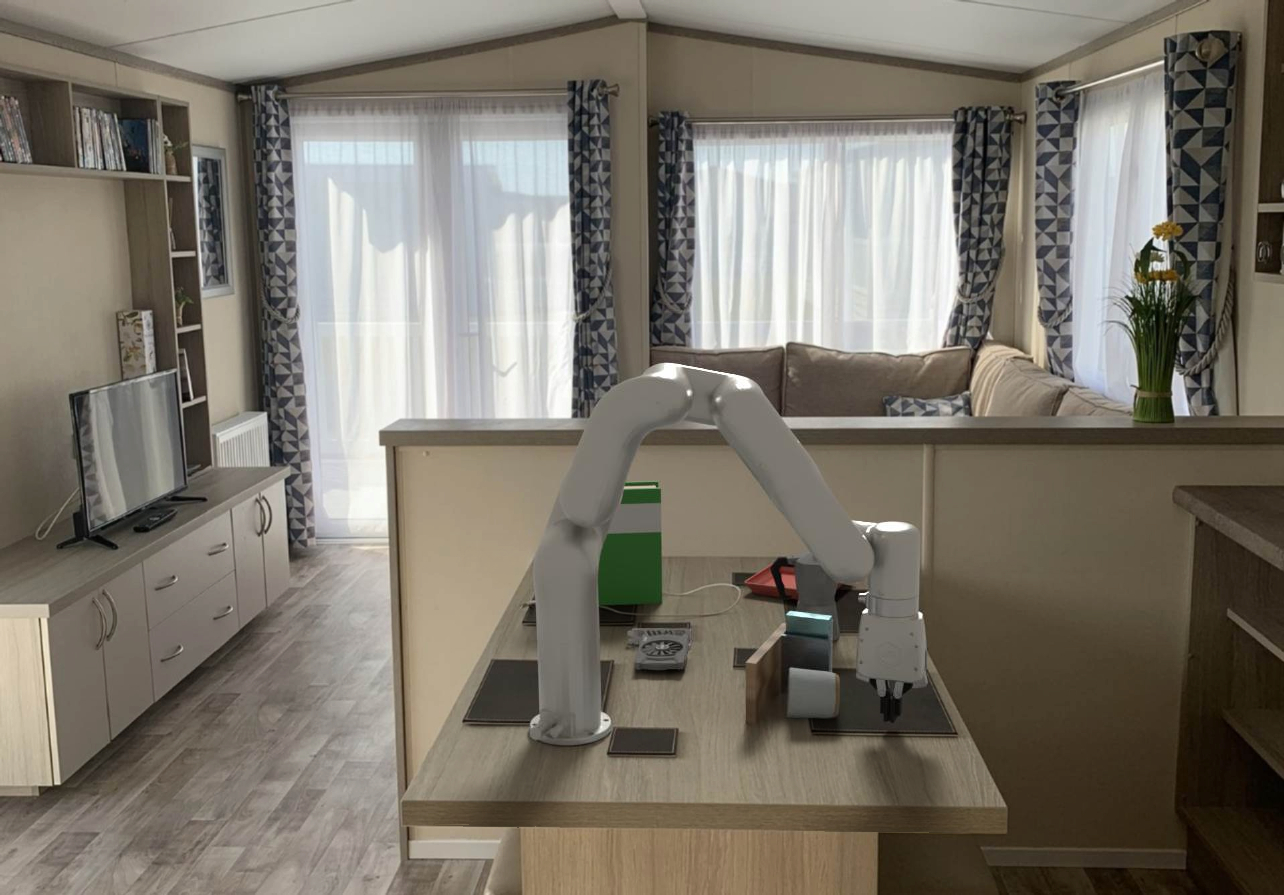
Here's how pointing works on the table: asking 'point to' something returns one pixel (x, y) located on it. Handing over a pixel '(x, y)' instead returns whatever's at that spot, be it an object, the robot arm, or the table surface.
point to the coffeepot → (809, 586)
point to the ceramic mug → (812, 694)
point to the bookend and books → (806, 644)
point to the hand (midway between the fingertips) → (890, 718)
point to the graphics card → (661, 648)
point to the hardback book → (633, 549)
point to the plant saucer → (767, 586)
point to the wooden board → (764, 677)
